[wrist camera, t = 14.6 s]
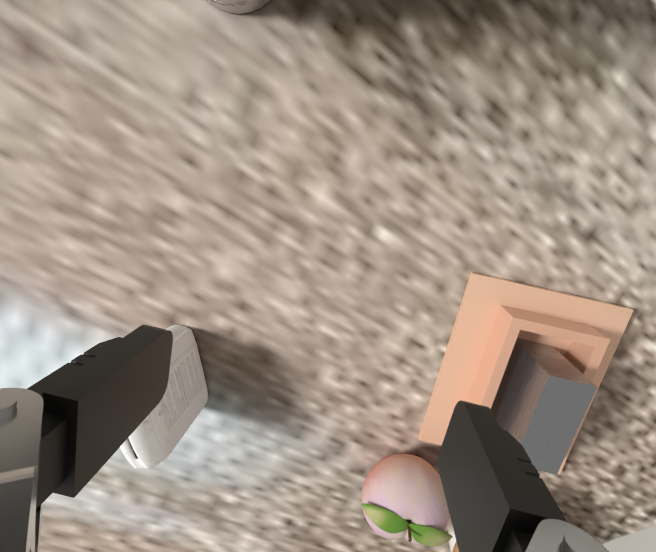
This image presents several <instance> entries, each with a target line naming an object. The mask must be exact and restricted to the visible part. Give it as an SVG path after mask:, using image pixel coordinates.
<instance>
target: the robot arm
mask: <svg viewBox="0 0 656 552" xmlns="http://www.w3.org/2000/svg"><path fill="white" fill-rule="evenodd" d="M207 1H208V2H209V3H210V4H212V5H213V6H215V7H217V8H218V9H220V10H223V11H226V12H229V13H237V14H242V13H249V12H252V11H255V10H257V9H259V8H261V7H263V6H264V5H265V4H267V3H268V2H269V1H270V0H207ZM172 344H173V334H172V332H171V331H169V330H165V329H161V328H157V327H152V326H148V325H142V326H140V327H138V328H137V329H135V330H134V331H133V332H131V333H130V334H128V335H127V336H125V337H124V338H120V337H118V338H114V339H111V340H108V341H105V342H102V343H99V344H97V345H95V346H94V347H92V348H91V349H89V350H88V351H86V352H84V354H83V355H80V356H78V357H76V358H75V359H73V360H72V361H71V363H67V364H65V365H64V366H62V367H61V368H59V369H58V370H56V371H54V372H53V373H51V374H50V375H48V376H47V377H45V378H43V379H42V380H40V381H39V382H37V383H35V384H34V385H32V386H31V387H29V388H28V389H22V388H2V389H0V552H39V541H40V528H41V514H42V503H43V502H44V501H45V500H46V499H47V498H48V497H49V496H50V495H51V494H52V493H57V494H61V495H65V496H69V497H73V498H74V497H75V496H76V495H77V494H78V493H79V492H80V491H81V489H82V488H83V487H84V486H85V485H86V484H87V483H88V482H89V481H90V479H91V478H92V477H93V476H94V475H95V474H96V473H97V472H98V471H99V469H100V468H101V467H102V466H103V465H104V464H105V463H106V462H107V461H108V459H109V458H110V457H111V456H112V455H113V454H114V453H115V452H116V451H117V449H118V448H119V447H120V446H121V445H122V444H123V443H124V442H125V441H126V439H127V438H128V437H129V436H130V435H131V434H132V433H133V432H134V431H135V429H136V428H137V427H138V426H139V425H140V424H141V423H142V422H143V421H144V419H145V418H146V417H147V416H148V415H149V414H150V413H151V412H152V411H153V409H154V408H155V407H156V406H157V405H158V404H159V403H160V401H161V399H162V398H163V396H164V394H165V391H166V388H167V385H168V379H169V371H170V362H171V353H172ZM531 462H532V461H531V459H530V458H529V456H528V454H527V453H526V451H525V449H524V447H523V446H522V445H521V444H520V443H519V442H518V441H517V440H516V439H515V438H514V437H513V436H512V435H511V434H510V433H509V432H508V431H507V430H503V429H501V428H500V426H499V424H498V422H497V420H496V418H495V417H494V415H493V413H492V411H491V409H490V408H489V407H487V406H483V405H478V404H474V403H470V402H466V401H462V400H460V401H458V402H457V404H456V406H455V408H454V411H453V414H452V416H451V419H450V422H449V425H448V428H447V431H446V434H445V437H444V440H443V443H442V446H441V449H440V454H439V474H440V478H441V482H442V486H443V490H444V494H445V498H446V502H447V506H448V510H449V514H450V518H451V522H452V526H453V529H454V533H455V537H456V541H457V545H458V549H459V552H609V551H608V550H607V549H606V548H605V547H604V546H603V545H602V544H601V543H600V542H599V541H597V540H596V539H595V538H594V537H592V536H591V535H589V534H588V533H587V532H585V531H583V530H582V529H580V528H578V527H577V526H574V525H572V524H570V523H568V522H567V521H566V519H565V518H564V516H563V514H562V512H561V511H560V509H559V507H558V506H557V504H556V502H555V500H554V499H553V497H552V495H551V494H550V492H549V490H548V489H547V487H546V485H545V483H544V482H543V480H542V478H539V473H538V471H537V470H536V468H535V466H534V465H533V464H531Z"/></svg>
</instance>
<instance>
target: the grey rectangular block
mask: <svg viewBox="0 0 656 552" xmlns="http://www.w3.org/2000/svg"><path fill="white" fill-rule="evenodd" d="M596 389H597V386H596V385H595V384H593V383H592V382H591V381H590V380H589V379H588V378H587V377H586V376H585V375H584V374H582V373H581V372H580V371H579V370H578V369H577V368H576V367H575V366H574V365H573V364H571V363H570V362H569V361H568V360H567V359H566V358H565V357H564V356H563V355H562V354H560V353H559V352H558V351H557V350H556V349H555V348H554V347H553V346H550V345H546V344H541V343H537V342H533V341H529V340H525V339H521V338H517V339H516V342H515V345H514V348H513V350H512V353H511V356H510V358H509V361H508V364H507V366H506V369H505V372H504V374H503V377H502V380H501V383H500V385H499V388H498V391H497V393H496V396H495V399H494V401H493V404H492V407H491V411H492V413H493V415H494V417H495V418H496V420H497V422H498V424H499V426H500V428H501V429H503V430H507V431H508V432H509V433H510V434H511V435H512V436H513V437H514V438H515V439H516V440H517V441H518V442H519V443H520V444H521V445H522V446H523V447H524V449H525V451H526V453H527V454H528V456H529V458H530V459H531V461H532V462H531V464H533V465H534V466H535V468H536V469H537V470H541V471H545V472H549V473H553V474H557V473H558V471H559V469H560V467H561V465H562V463H563V460H564V458H565V456H566V454H567V452H568V450H569V447H570V445H571V443H572V441H573V439H574V437H575V434H576V432H577V430H578V428H579V426H580V423H581V421H582V419H583V417H584V415H585V413H586V410H587V408H588V406H589V404H590V402H591V400H592V397H593V395H594V393H595V391H596Z"/></svg>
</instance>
